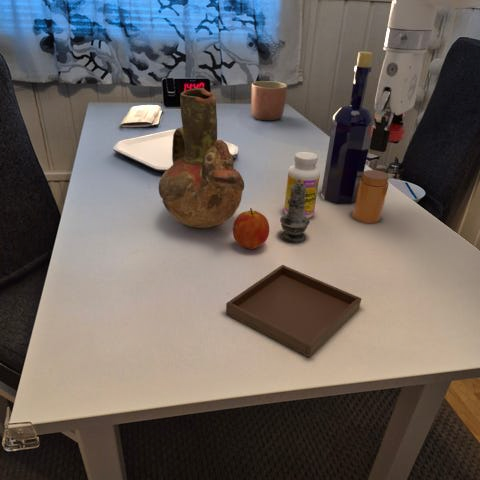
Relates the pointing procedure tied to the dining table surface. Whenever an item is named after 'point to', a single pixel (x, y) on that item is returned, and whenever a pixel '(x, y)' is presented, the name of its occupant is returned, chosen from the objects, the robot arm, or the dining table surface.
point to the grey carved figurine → (295, 215)
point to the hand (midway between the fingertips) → (384, 145)
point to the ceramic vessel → (200, 167)
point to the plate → (154, 149)
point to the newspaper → (142, 116)
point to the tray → (294, 309)
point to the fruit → (250, 229)
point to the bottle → (349, 141)
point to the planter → (268, 99)
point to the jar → (371, 196)
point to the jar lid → (394, 132)
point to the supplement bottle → (304, 180)
